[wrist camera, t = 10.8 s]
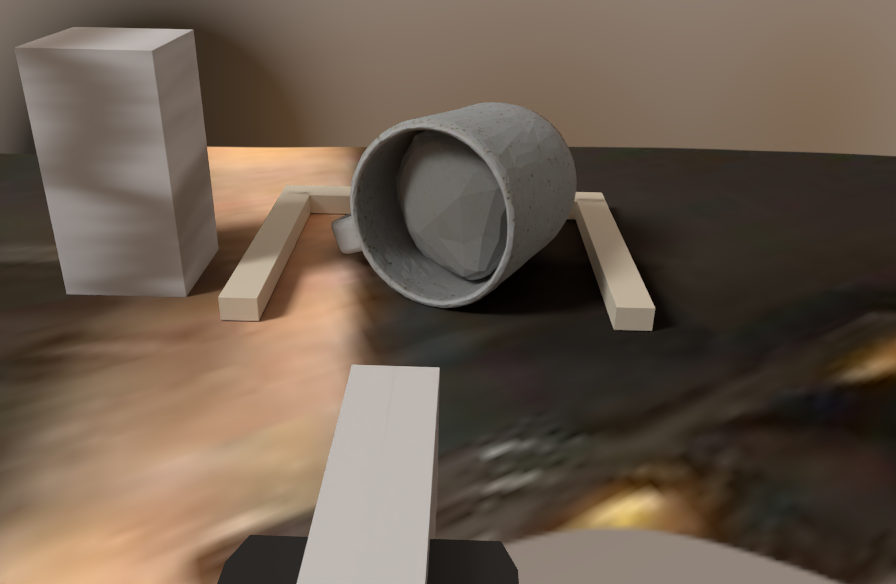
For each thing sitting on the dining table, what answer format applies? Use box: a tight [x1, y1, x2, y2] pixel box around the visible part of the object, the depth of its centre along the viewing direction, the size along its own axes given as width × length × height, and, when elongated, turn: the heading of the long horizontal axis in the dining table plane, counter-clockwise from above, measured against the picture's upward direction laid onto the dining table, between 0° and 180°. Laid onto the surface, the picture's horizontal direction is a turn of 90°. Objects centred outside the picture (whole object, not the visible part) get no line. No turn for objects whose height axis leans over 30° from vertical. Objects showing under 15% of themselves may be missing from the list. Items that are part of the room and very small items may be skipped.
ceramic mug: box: [332, 102, 576, 308], centre depth 35 cm, size 11×8×8 cm
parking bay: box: [218, 185, 655, 331], centre depth 38 cm, size 17×14×1 cm
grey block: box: [15, 27, 219, 297], centre depth 34 cm, size 5×5×10 cm
